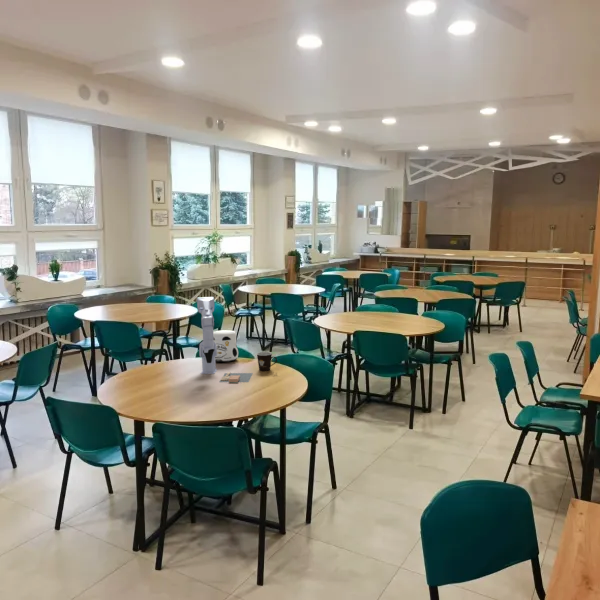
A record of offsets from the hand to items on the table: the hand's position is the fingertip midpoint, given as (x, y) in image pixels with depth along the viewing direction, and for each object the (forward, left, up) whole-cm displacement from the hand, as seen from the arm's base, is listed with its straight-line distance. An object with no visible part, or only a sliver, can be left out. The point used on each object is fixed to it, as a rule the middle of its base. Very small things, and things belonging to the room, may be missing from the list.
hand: (209, 362), depth 299 cm
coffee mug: (-19, +29, -10) cm, 36 cm away
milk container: (-44, 0, -10) cm, 45 cm away
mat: (-4, +14, -10) cm, 18 cm away
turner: (-5, +8, -10) cm, 14 cm away
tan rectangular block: (-1, +14, -8) cm, 16 cm away
